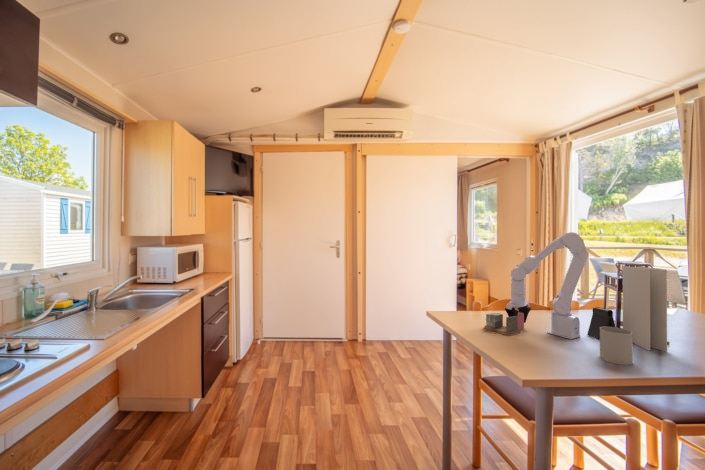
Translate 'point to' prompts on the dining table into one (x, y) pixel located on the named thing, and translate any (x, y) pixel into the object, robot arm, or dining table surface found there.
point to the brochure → (645, 306)
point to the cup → (616, 345)
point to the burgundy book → (520, 320)
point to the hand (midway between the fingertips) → (518, 323)
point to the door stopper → (600, 321)
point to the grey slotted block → (501, 324)
